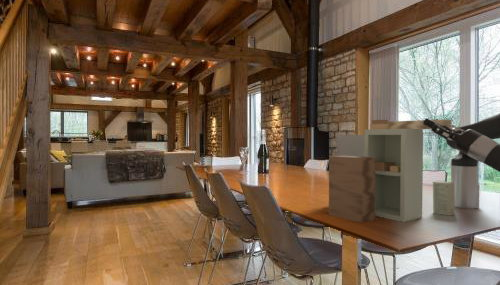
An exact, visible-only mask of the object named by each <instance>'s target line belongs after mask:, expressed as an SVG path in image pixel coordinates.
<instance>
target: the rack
mask: <svg viewBox="0 0 500 285" xmlns="http://www.w3.org/2000/svg"><path fill="white" fill-rule="evenodd" d="M388 122H389V120H388V119H371V123H370V124H369V129H364V135H365V149H364V157H375V217H378V218H379V217H380V218H383V217H384V219H388V220H393V221H398V222H401V221H402V223H407V222H410V220H411V221H414V220H417V218H418V219H420V218H421V217H422V218H423V187H424V186H423V184H424V183H423V179H424V177H423V176H424V174H423V173H424V172H423V171H424V170H423V169H424V163H423V162H424V161H423V160H424V129H388ZM422 218H421V219H422ZM406 221H407V222H406Z"/></svg>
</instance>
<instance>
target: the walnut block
mask: <svg viewBox="0 0 500 285" xmlns="http://www.w3.org/2000/svg"><path fill="white" fill-rule="evenodd" d="M328 215H329V216H331V217H337V218H340V219H344V220H348V221H353V222H357V223H360V224H361V223H366V222H370V221H374V219H376V216H375V157H361V156H344V155H343V156H337V155H328Z"/></svg>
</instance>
